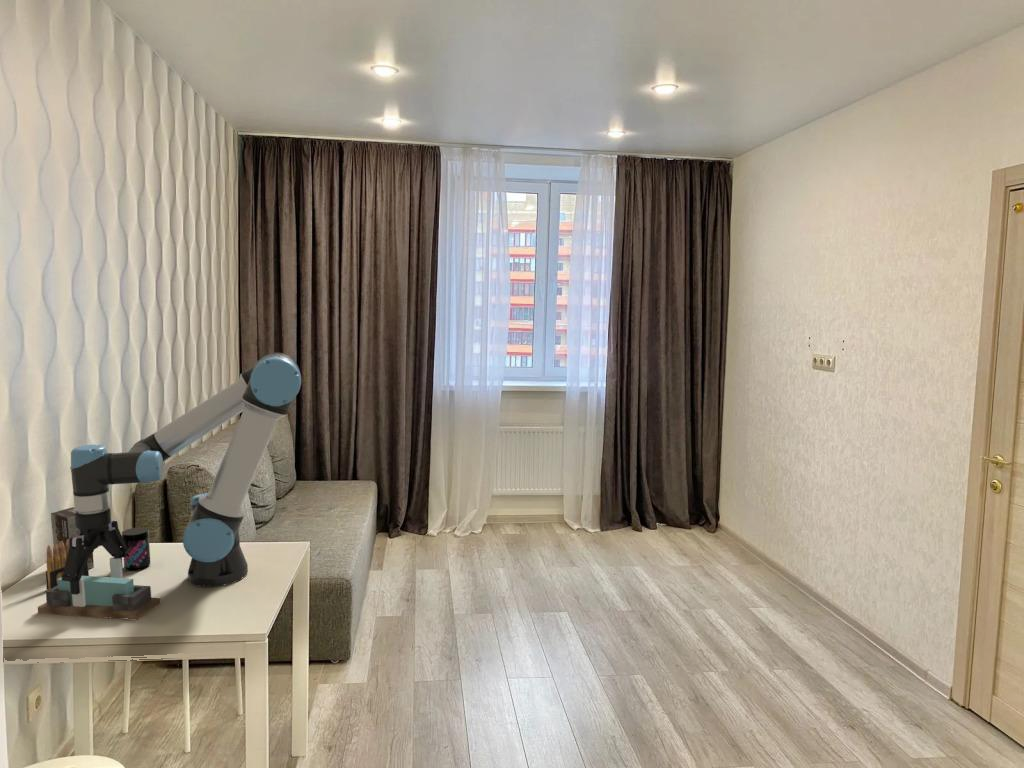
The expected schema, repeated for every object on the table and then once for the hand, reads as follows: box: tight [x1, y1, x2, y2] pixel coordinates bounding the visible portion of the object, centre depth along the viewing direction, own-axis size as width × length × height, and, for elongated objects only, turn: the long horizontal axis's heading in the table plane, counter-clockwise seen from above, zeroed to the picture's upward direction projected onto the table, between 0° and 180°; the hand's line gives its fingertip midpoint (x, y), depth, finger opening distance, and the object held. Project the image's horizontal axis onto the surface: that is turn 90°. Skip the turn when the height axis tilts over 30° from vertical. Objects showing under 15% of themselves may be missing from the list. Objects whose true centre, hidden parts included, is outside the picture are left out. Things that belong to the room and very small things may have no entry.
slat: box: [57, 575, 135, 607], centre depth 180 cm, size 18×3×6 cm, turn 82°
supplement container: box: [121, 527, 151, 572], centre depth 206 cm, size 7×7×10 cm
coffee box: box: [50, 507, 95, 570], centre depth 205 cm, size 9×6×16 cm
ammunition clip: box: [45, 539, 90, 591], centre depth 195 cm, size 11×2×12 cm, turn 157°
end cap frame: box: [37, 584, 161, 620], centre depth 180 cm, size 26×9×5 cm, turn 82°
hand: (99, 594), depth 180 cm, fingers open, 13 cm apart
